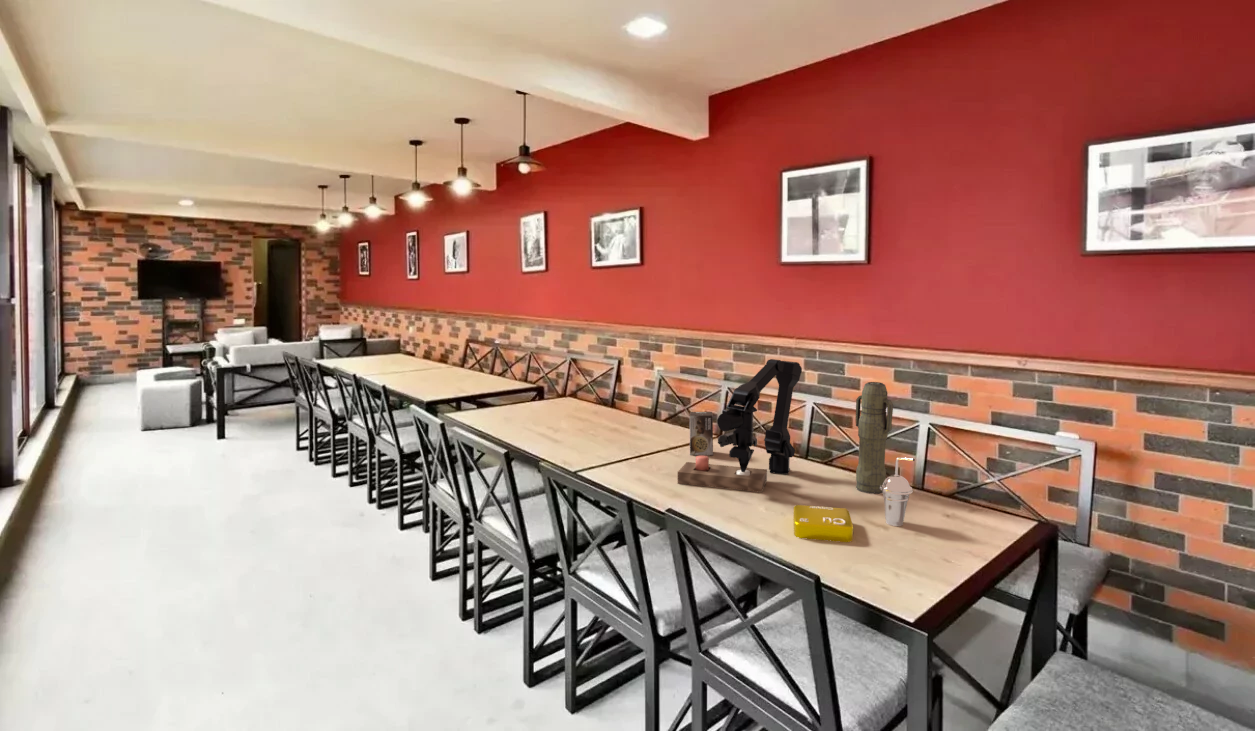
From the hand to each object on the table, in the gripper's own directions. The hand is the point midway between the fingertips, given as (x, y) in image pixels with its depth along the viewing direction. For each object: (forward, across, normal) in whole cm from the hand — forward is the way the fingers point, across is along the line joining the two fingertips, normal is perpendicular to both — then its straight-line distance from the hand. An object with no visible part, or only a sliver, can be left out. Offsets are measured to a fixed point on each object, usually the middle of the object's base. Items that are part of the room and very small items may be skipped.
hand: (743, 471), depth 211 cm
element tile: (+5, +31, +27) cm, 41 cm away
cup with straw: (+4, +20, +46) cm, 50 cm away
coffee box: (+4, -32, -22) cm, 39 cm away
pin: (+4, 0, 0) cm, 4 cm away
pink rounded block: (0, 0, -14) cm, 14 cm away
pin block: (+4, 0, -7) cm, 8 cm away
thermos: (+4, -8, +40) cm, 41 cm away
